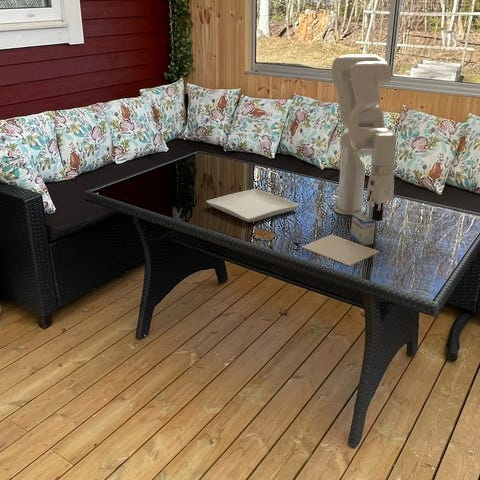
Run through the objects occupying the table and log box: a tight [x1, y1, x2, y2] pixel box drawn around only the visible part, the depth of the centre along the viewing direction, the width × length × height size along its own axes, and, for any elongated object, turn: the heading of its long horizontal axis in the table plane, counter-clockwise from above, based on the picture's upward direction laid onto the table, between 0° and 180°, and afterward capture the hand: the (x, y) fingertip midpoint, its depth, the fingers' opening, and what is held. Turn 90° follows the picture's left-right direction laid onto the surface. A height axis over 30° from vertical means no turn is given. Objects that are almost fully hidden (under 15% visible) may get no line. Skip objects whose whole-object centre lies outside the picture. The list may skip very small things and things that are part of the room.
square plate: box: [205, 188, 300, 223], centre depth 220 cm, size 27×27×4 cm
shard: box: [253, 225, 277, 241], centre depth 196 cm, size 11×8×2 cm
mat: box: [301, 234, 380, 267], centre depth 184 cm, size 20×16×1 cm
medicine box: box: [350, 213, 376, 246], centre depth 189 cm, size 8×4×9 cm, turn 21°
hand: (377, 219), depth 193 cm, fingers closed
